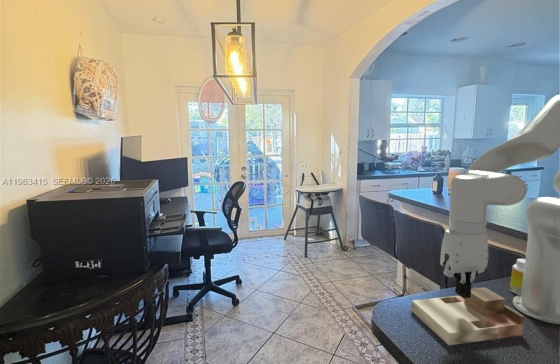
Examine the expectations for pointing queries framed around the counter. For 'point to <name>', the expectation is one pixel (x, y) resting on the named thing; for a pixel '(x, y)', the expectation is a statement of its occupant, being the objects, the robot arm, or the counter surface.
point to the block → (485, 302)
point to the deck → (466, 320)
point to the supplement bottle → (517, 276)
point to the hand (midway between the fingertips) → (462, 295)
